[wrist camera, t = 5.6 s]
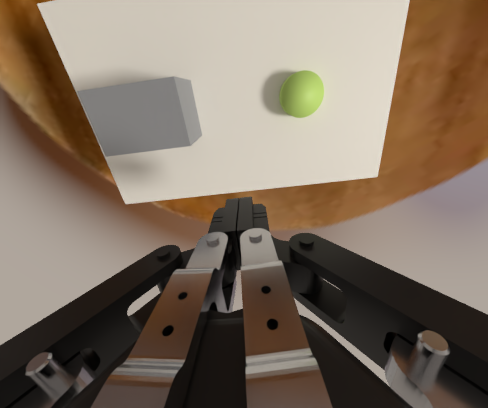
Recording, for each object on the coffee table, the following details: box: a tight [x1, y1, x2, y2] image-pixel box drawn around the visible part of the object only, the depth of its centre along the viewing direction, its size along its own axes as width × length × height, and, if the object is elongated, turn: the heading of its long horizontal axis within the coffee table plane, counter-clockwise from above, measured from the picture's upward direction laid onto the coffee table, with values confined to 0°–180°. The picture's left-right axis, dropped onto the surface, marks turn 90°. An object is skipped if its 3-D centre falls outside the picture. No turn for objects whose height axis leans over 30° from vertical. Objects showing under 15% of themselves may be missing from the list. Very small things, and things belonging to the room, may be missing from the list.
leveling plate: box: [37, 0, 410, 204], centre depth 16 cm, size 15×24×7 cm, turn 97°
